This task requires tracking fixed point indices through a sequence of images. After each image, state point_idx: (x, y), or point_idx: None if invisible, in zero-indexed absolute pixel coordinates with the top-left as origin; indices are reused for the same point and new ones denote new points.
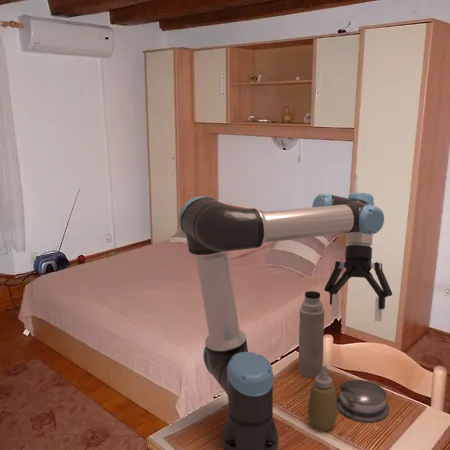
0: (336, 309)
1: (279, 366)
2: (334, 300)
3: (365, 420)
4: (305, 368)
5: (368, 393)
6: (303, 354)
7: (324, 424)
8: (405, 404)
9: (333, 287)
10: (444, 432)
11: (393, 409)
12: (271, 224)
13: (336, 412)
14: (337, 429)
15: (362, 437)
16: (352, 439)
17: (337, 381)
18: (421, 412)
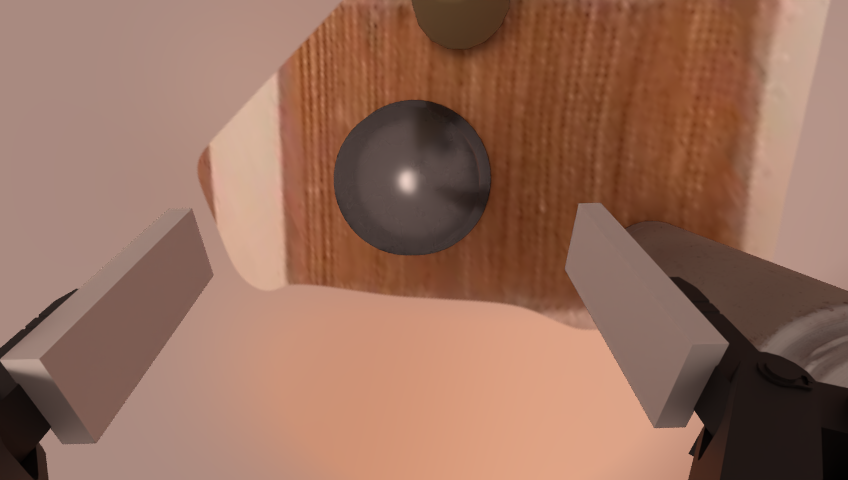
0: (592, 276)
1: (768, 221)
2: (647, 291)
3: (371, 114)
4: (659, 225)
5: (386, 185)
6: (697, 236)
7: None
8: (330, 268)
9: (799, 439)
10: (213, 211)
11: (343, 225)
12: None
13: (414, 9)
14: (417, 27)
15: (347, 45)
16: (363, 16)
17: (538, 259)
18: (285, 258)
